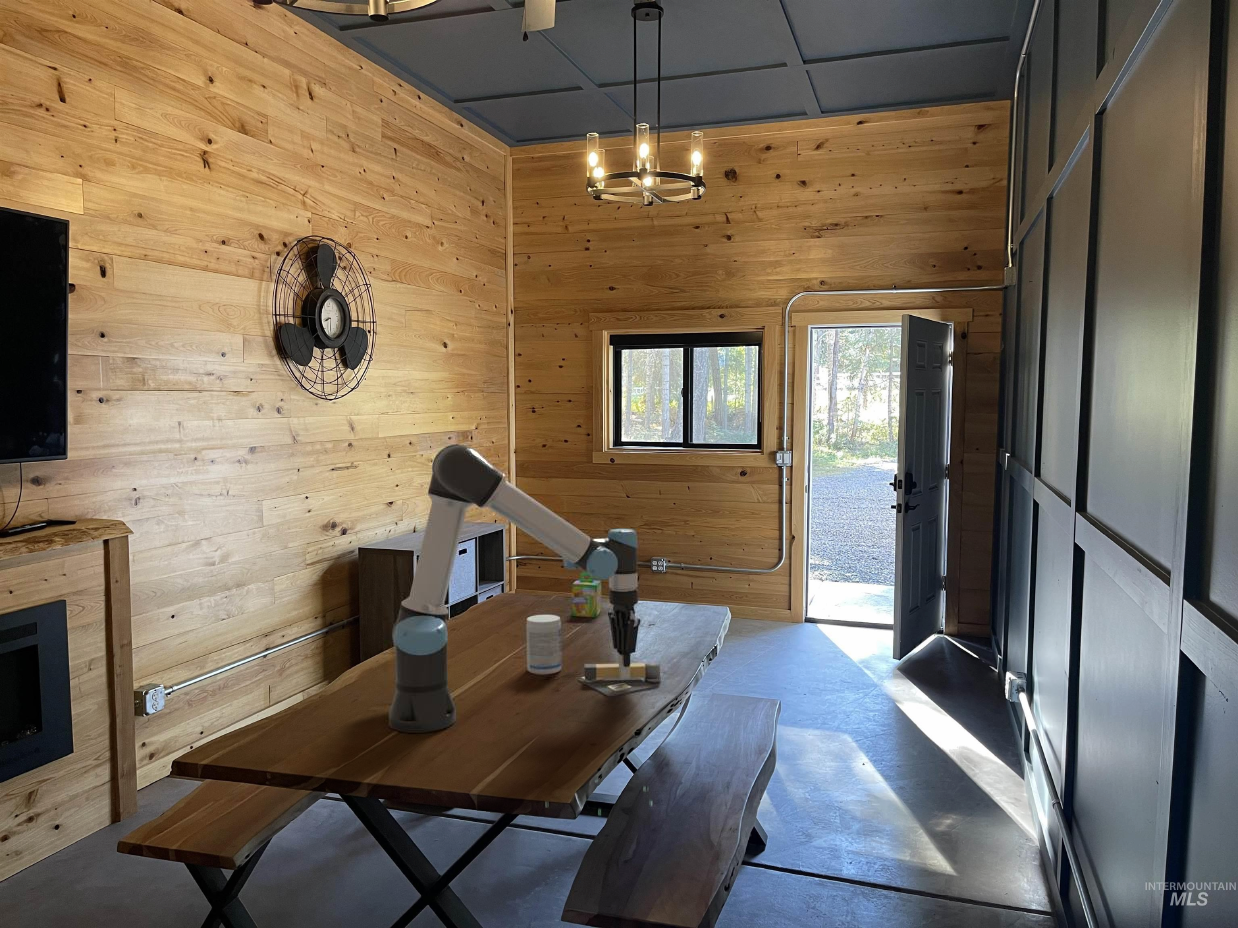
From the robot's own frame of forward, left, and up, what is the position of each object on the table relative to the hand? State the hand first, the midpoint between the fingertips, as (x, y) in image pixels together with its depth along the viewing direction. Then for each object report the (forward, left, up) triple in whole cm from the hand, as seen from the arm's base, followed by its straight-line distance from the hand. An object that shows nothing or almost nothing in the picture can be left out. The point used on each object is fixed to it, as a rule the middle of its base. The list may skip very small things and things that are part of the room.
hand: (624, 677), depth 228 cm
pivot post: (+8, -1, -2) cm, 8 cm away
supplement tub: (-12, +23, -2) cm, 26 cm away
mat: (-1, +2, -2) cm, 3 cm away
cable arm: (+1, +3, -1) cm, 3 cm away
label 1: (-5, +8, -2) cm, 10 cm away
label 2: (-3, -2, -2) cm, 4 cm away
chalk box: (+31, +75, -2) cm, 81 cm away
